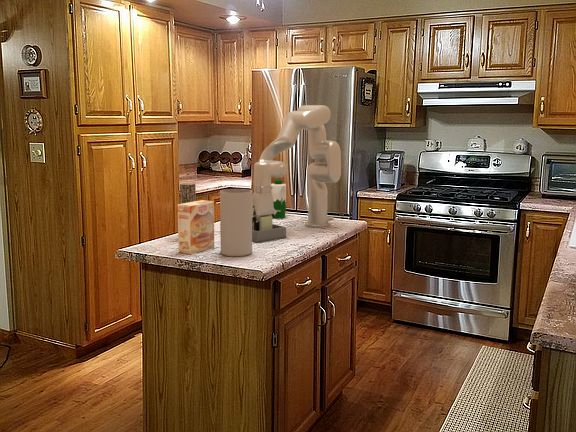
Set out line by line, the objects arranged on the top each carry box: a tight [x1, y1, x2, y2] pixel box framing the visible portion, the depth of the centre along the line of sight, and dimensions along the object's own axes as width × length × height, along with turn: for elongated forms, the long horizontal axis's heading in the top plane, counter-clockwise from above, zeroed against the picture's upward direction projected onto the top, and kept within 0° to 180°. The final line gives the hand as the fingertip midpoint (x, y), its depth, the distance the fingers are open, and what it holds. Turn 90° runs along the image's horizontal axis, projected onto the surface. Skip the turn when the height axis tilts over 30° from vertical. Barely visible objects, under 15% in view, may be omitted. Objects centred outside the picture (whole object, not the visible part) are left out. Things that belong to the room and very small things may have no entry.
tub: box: [252, 223, 287, 244], centre depth 255 cm, size 16×13×5 cm
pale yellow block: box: [253, 215, 273, 231], centre depth 255 cm, size 6×6×8 cm
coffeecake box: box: [176, 199, 215, 255], centre depth 231 cm, size 15×7×20 cm, turn 148°
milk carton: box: [271, 179, 287, 220], centre depth 306 cm, size 9×9×20 cm
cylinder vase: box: [219, 188, 253, 258], centre depth 225 cm, size 12×12×25 cm
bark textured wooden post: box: [179, 181, 197, 204], centre depth 252 cm, size 7×7×25 cm
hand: (262, 229), depth 255 cm, fingers closed on pale yellow block, 6 cm apart
